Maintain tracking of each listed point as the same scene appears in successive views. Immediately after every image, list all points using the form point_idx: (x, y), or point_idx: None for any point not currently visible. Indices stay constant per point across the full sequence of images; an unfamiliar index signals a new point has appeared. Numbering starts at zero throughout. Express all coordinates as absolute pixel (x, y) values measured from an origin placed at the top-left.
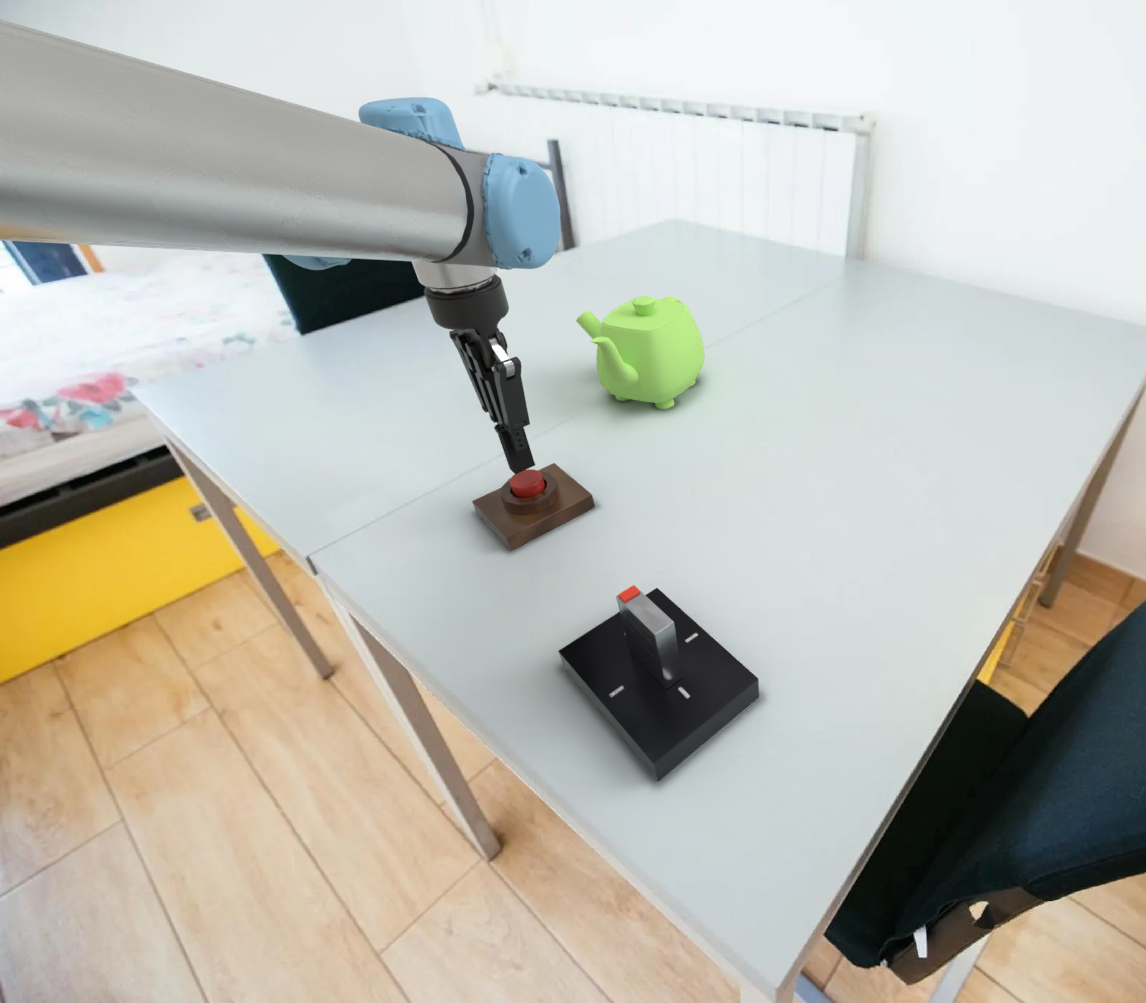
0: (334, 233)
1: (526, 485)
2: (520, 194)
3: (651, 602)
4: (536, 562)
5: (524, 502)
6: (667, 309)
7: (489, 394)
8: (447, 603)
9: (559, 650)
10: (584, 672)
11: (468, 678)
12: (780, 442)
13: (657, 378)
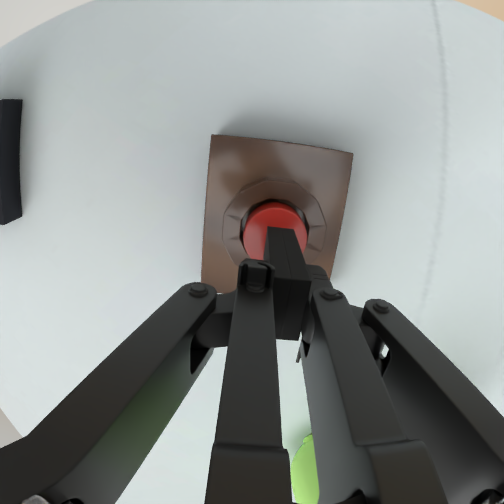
0: None
1: (253, 226)
2: None
3: None
4: (164, 148)
5: (237, 200)
6: None
7: (325, 366)
8: (193, 25)
9: (2, 100)
10: None
11: (79, 17)
12: (157, 443)
13: (302, 472)
